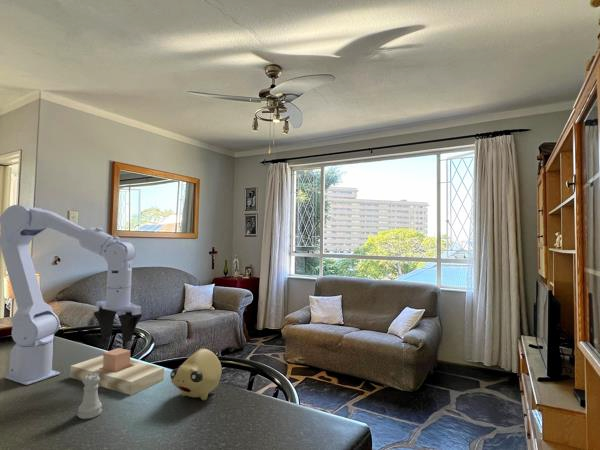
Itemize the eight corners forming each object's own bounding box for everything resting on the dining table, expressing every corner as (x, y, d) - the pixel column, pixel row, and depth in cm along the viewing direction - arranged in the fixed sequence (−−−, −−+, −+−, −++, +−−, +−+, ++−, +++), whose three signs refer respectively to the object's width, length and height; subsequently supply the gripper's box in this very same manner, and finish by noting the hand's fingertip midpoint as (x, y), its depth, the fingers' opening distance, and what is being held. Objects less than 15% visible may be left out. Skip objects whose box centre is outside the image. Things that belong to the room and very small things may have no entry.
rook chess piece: (90, 421, 71) (92, 380, 71) (71, 418, 72) (73, 378, 72) (107, 410, 75) (108, 372, 75) (89, 408, 76) (90, 370, 76)
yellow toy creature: (160, 405, 78) (162, 356, 78) (192, 384, 89) (194, 341, 90) (199, 413, 75) (201, 362, 75) (227, 390, 86) (229, 345, 87)
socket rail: (70, 377, 91) (70, 365, 92) (105, 365, 101) (105, 354, 101) (130, 395, 82) (131, 382, 82) (163, 379, 91) (164, 367, 92)
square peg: (102, 380, 90) (103, 352, 90) (117, 374, 94) (118, 348, 94) (114, 383, 88) (115, 355, 89) (129, 377, 92) (130, 350, 93)
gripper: (86, 286, 92) (83, 339, 92) (125, 291, 86) (122, 347, 86) (110, 283, 99) (108, 332, 98) (148, 288, 93) (146, 340, 92)
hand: (116, 339), depth 93 cm, fingers open, 7 cm apart
